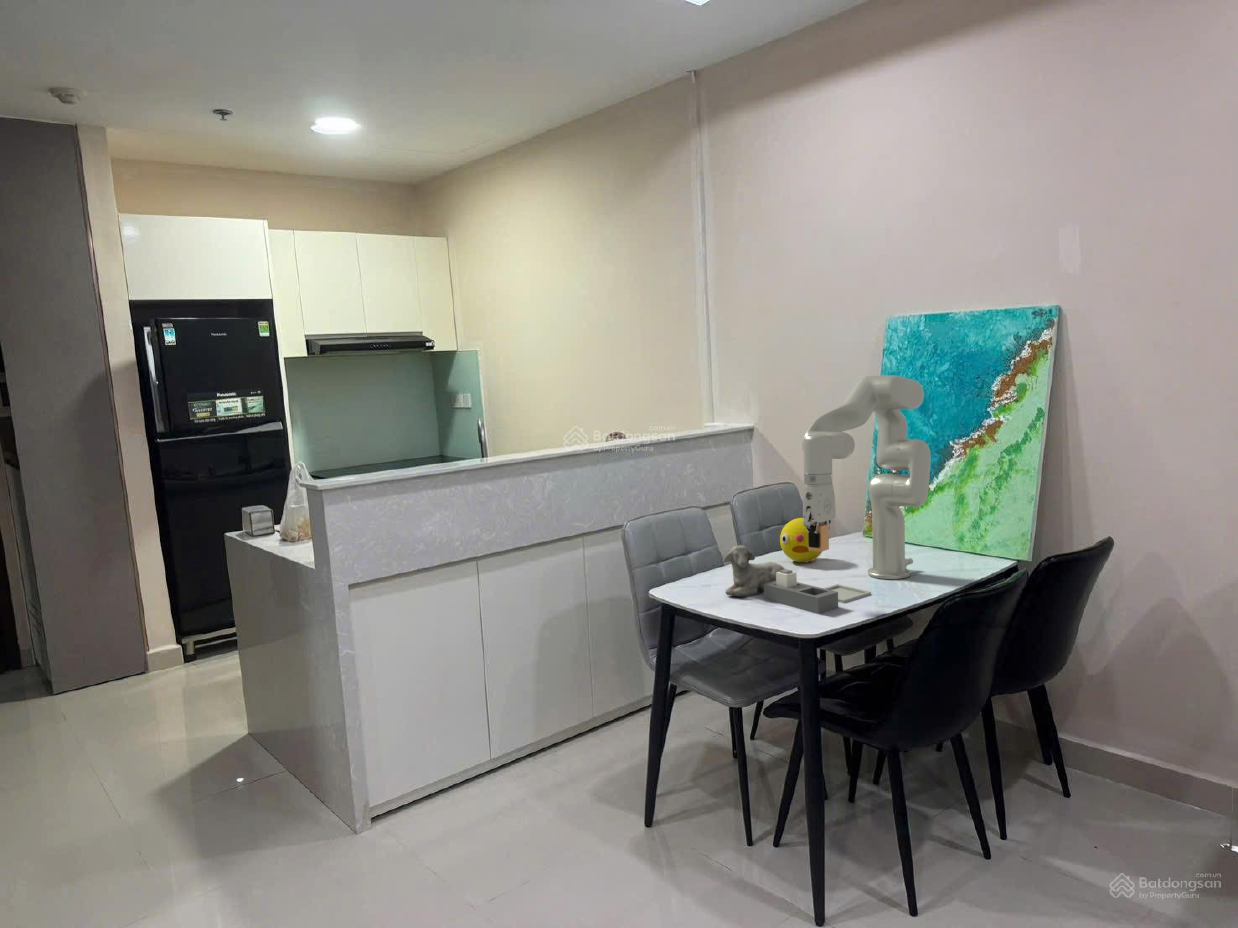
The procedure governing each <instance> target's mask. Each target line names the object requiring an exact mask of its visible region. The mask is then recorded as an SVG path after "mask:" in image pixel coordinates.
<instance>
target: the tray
mask: <svg viewBox="0 0 1238 928" xmlns="http://www.w3.org/2000/svg"><path fill="white" fill-rule="evenodd" d="M822 588H823V589H828V590H832V591H836V592H838V603H842V604H845V603H848V602H852V601H855V600H857V599H861V598H864V597H867V596H871V595H872V591H868V590H864V589H861V588H857V587H856V588H855V587H851V586H847V585H842V584H840V583H839V584H838V583H837V584H833V585H831V586H827V587H822Z"/></svg>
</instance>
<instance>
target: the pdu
mask: <svg viewBox="0 0 1238 928" xmlns="http://www.w3.org/2000/svg"><path fill="white" fill-rule="evenodd" d="M797 579H798V578H797V571H793V570H792V569H788V568H785V569H784V570H780V572H776V581H773V582H769V583H766V584H764V592H763V599H764V600H765V601H770V602H774V603H776V604H780V605H784V606H787V607H791V608H794V609H798V610H801V611H805V612H810V613H812V614H816V615H820V614H824V613H826V612H827V613H828V612H830V611H832V610H833V611H834V610H836V609H839V602H838V592H836V591H832V590H828V589H823V588H824V587H819V586H815V585H811V584H806V583H802V582H798V581H797Z"/></svg>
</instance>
